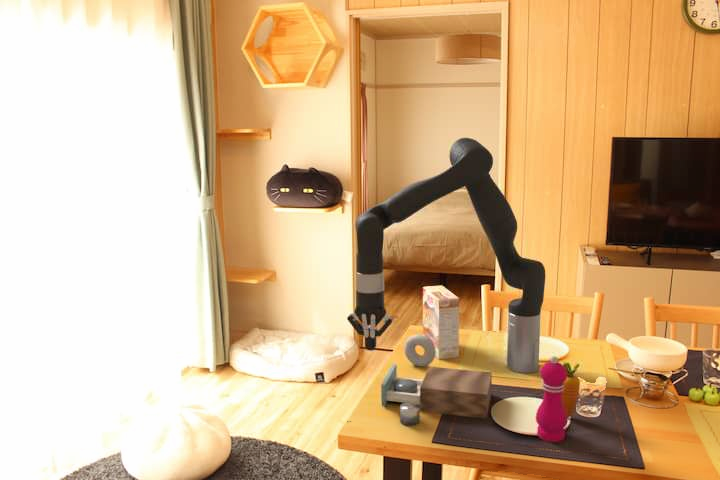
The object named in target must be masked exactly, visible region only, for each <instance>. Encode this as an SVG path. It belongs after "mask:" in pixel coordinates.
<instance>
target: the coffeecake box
mask: <svg viewBox="0 0 720 480" xmlns="http://www.w3.org/2000/svg"><path fill="white" fill-rule="evenodd" d="M422 335H424V336H426V337H428V338H429V339H430V340H431V341H432V342H433V344H434V346H435V351H436V354H435V358H437V359H438V360H446V359H454V358H455V359H456V358H459V357H460V356H459V354H460V352H459V351H460V349H459V348H460V346H459V344H460V297H458V296H457V295H455V294H454V293H453V292H451V291H450V290H449V289H448V288H446V287H445V286H444V285H442V284H441V285H432V286H431V285H428V286H423V287H422Z"/></svg>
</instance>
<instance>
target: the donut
mask: <svg viewBox="0 0 720 480" xmlns="http://www.w3.org/2000/svg"><path fill="white" fill-rule="evenodd" d="M417 346H419V347H421V348H422V349H423V350H424V351H423V352H424V354H421V355H420V354H419V353H417V351H416V347H417ZM403 349H404V354H405V356H406V359H407V360H408V361H409V363H410V364H413V365H414V366H417V367H426V366H429V365H431V364H432V363H433V361H434V359H435V358H436V356H435V354H436V351H435V346H434V344H433V342H432V341H431V340H430V339H429V338H428V337H426V336H424V335H423V334H413V335H411V336H409V337H408V338H407V339H406V341H405V343H404V348H403Z"/></svg>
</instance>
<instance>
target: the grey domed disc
mask: <svg viewBox="0 0 720 480" xmlns="http://www.w3.org/2000/svg"><path fill="white" fill-rule="evenodd" d="M411 379H412V378H409V379H400V380H397V381H395V382H394V383H393V387H394V392H404V393H415V392H417V382H416V381H414V380H411Z"/></svg>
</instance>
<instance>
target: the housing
mask: <svg viewBox="0 0 720 480" xmlns="http://www.w3.org/2000/svg"><path fill="white" fill-rule="evenodd" d="M492 374H493V373H492V371H481V370H471V369H470V370H469V369H460V368H450V367H437V366H428V369H427V371H426V373H425V376H424V378H423V379H422V380H423V382H422V385H421V387H420V404H419V412H422V413H423V412H426V413H432V414H433V413H434V414H442V415H451V416H453V415H454V416H460V417H467V418H468V417H469V418H470V417H471V418H478V419H479V418H480V419H487V418H488V414H489V413H488V412H489V409H490V402H491V397H492V386H493V385H492V382H493V381H492V377H493V375H492Z"/></svg>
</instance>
